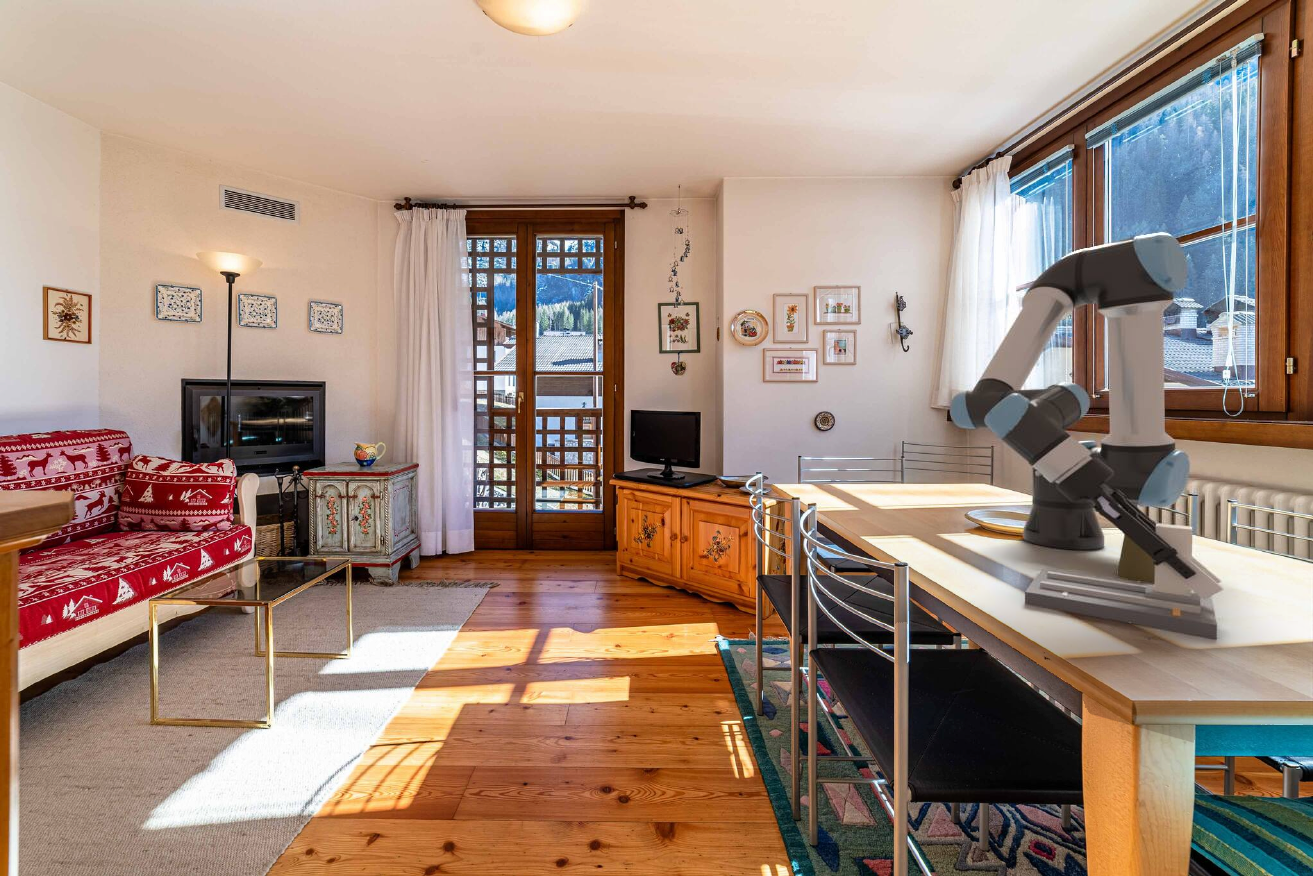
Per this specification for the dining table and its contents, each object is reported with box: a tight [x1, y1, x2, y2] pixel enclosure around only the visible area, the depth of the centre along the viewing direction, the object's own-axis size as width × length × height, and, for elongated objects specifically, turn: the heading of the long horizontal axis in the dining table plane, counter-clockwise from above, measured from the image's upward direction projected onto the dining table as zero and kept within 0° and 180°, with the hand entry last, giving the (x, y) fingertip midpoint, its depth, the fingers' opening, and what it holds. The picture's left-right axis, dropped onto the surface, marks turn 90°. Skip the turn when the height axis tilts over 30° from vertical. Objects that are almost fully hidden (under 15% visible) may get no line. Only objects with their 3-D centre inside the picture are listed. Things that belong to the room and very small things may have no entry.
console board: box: [1024, 568, 1218, 640], centre depth 89 cm, size 16×22×3 cm
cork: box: [1116, 520, 1157, 584], centre depth 102 cm, size 6×6×11 cm
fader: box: [1145, 522, 1200, 606], centre depth 84 cm, size 5×6×11 cm
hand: (1212, 589), depth 82 cm, fingers open, 4 cm apart
